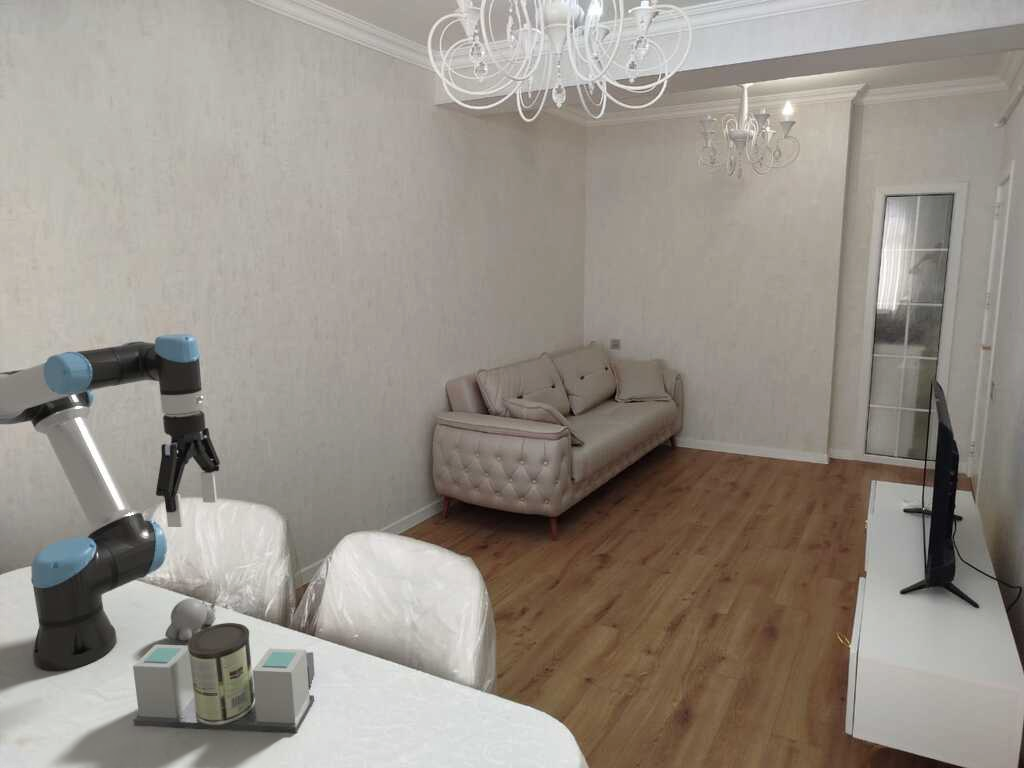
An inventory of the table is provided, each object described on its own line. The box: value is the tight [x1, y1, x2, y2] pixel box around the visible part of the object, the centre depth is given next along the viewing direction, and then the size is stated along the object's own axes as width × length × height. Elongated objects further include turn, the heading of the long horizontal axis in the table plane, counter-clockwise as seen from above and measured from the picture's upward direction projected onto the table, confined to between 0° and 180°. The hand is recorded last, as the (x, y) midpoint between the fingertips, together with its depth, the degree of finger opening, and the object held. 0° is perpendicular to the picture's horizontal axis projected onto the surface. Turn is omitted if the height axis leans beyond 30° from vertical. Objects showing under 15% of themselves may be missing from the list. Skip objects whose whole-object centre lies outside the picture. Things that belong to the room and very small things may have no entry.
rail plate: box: [132, 693, 315, 734], centre depth 131 cm, size 30×9×1 cm, turn 85°
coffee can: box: [187, 622, 255, 725], centre depth 129 cm, size 10×10×14 cm
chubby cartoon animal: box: [164, 597, 217, 641], centre depth 158 cm, size 7×12×8 cm, turn 158°
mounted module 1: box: [132, 644, 194, 718], centre depth 131 cm, size 7×7×10 cm
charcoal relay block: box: [306, 651, 315, 690], centre depth 140 cm, size 5×5×5 cm
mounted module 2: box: [252, 648, 310, 723], centre depth 129 cm, size 7×7×10 cm
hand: (193, 513), depth 146 cm, fingers open, 13 cm apart
